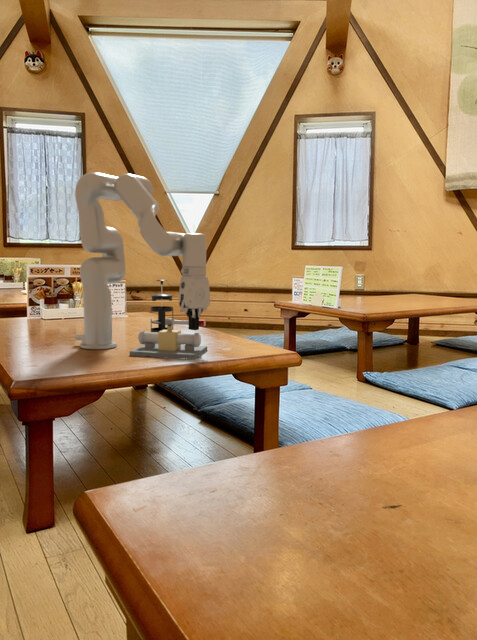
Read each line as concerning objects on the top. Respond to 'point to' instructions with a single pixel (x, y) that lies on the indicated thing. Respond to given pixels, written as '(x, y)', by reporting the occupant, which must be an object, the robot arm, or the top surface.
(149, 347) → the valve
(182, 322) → the lever
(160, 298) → the french press
